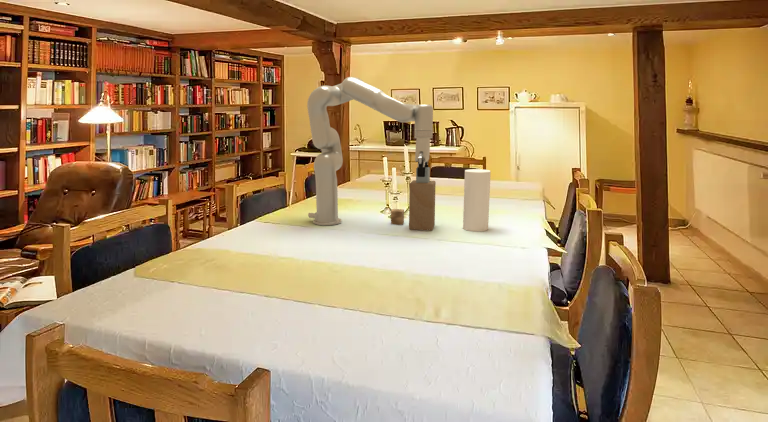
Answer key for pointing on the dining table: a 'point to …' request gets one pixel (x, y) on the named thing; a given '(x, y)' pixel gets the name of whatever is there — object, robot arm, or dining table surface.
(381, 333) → the dining table surface
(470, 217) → the tall pillar cylinder
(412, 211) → the wooden block
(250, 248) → the dining table surface
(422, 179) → the slate block
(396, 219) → the oak block
